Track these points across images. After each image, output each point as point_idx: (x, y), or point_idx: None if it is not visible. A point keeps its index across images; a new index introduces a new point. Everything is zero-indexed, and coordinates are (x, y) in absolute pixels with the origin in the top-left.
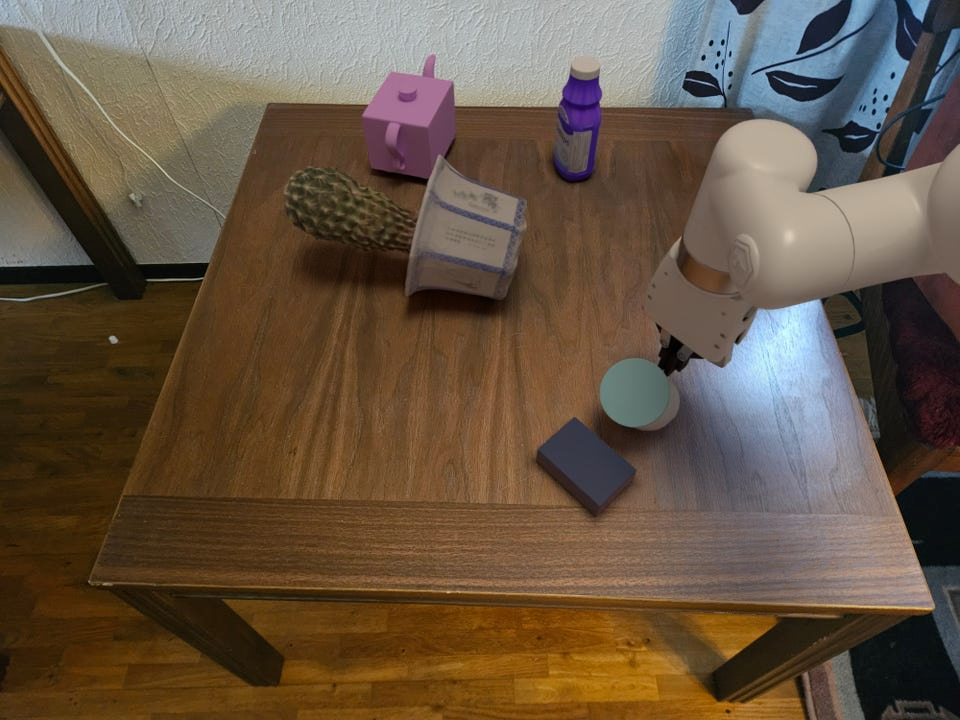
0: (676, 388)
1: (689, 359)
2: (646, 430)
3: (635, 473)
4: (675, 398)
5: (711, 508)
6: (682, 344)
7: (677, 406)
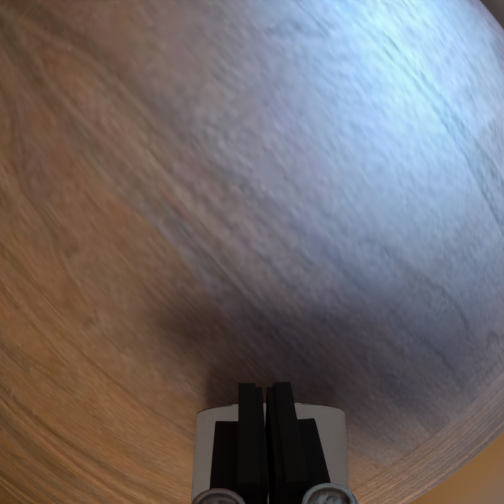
0: (317, 415)
1: (320, 447)
2: None
3: None
4: (342, 474)
5: (447, 421)
6: (274, 498)
7: (344, 431)
